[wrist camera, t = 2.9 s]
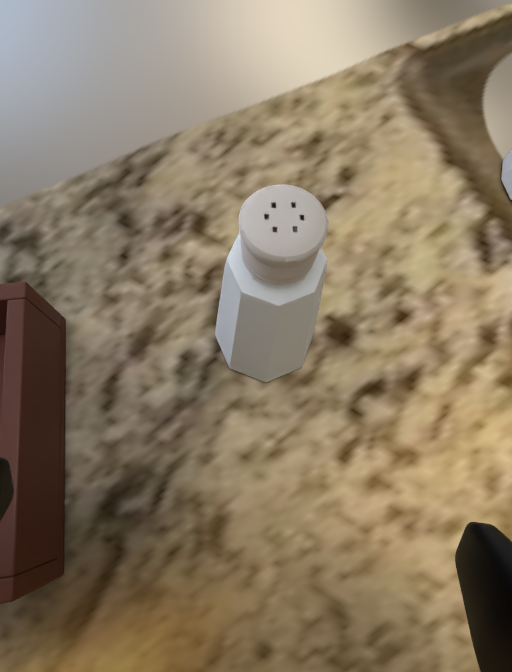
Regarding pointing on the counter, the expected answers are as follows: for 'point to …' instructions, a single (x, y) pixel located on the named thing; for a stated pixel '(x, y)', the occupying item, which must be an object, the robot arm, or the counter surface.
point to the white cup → (507, 173)
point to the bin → (31, 439)
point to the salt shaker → (273, 283)
